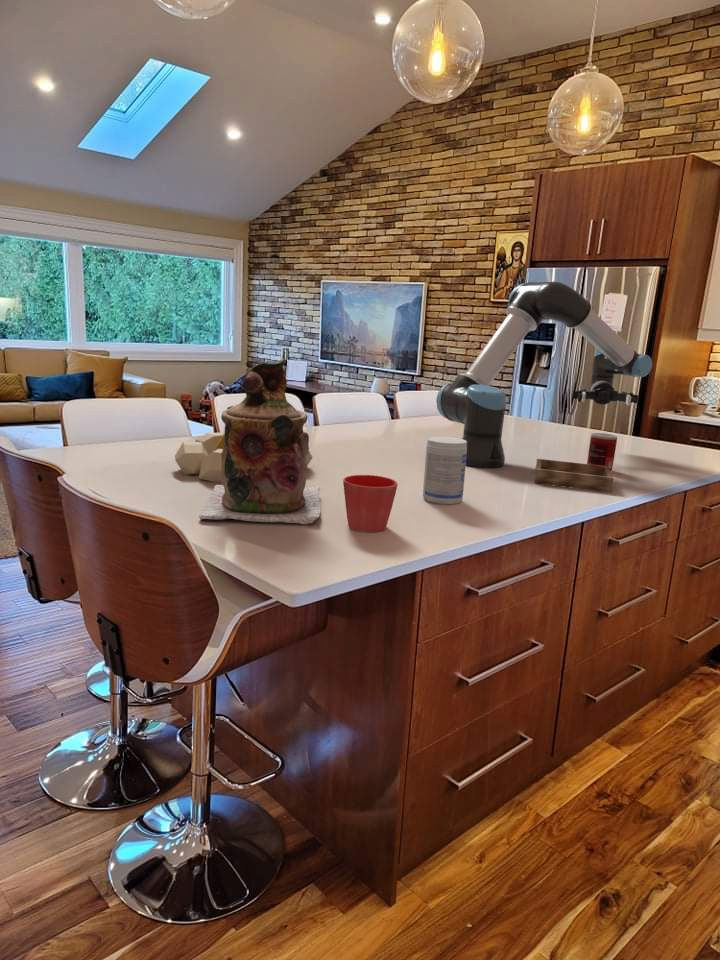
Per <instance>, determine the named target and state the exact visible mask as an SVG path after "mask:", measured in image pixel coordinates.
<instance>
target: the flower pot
mask: <svg viewBox="0 0 720 960" xmlns="http://www.w3.org/2000/svg"><path fill="white" fill-rule="evenodd" d="M342 483H343V484H342V485H343V492H344V493H343V494H344V501H345V511H346V518H347V526H348V527H349V528H350V529H352V530H355V531H358V532H363V533H377V532H378V533H380V532H382V531H384V530H386V529H387V525H388V523H389V519H390V516H391V512H392V509H393V505H394V501H395V497H396V492H397V489H398V485H399V484H398V482H397V480H395V479H392V478H390V477H386V476H382V475H381V476H380V475H375V474H374V475H373V474H354V475H353V474H352V475H349V476H345V477H344V478H343V479H342Z"/></svg>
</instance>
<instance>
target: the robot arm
mask: <svg viewBox="0 0 720 960" xmlns="http://www.w3.org/2000/svg"><path fill="white" fill-rule="evenodd" d="M507 299H508V303H507V308H506V310H505V311H506V313H505V314H506V317H505V319H504V320H503V321H502V323H501V324H500V325H499V327H498V328H497V330H496V331H495V332H494V334H493V335H492V337H491V338H490V339H489V341H487V343H486V345H485V346H484V347H483V349H482V350H481V352H480V353H479V354H478V356H477V357H476V358H475V359H474V361H473V362H472V364H471V365H470V367H469V368H468V369H467V371H466V372H465V373H459V374H458V375H457V376H456V378H455V379H454V380H453V382H452V383H451V382H450V383H447V384H445V385H443V386H442V387H440V389H439V391H438V393H437V395H436V399H435V400H436V401H435V402H436V409H437V411H438V412H439V414H440V415H441V416H442V417H443V418H444V419H447V420H448V421H451V422H455V423H457V424H458V423H459V424H462V425H463V433H462V434H463V435H462V438H461V439H463V440H466V441H467V456H466V466H469V467H475V468H476V467H477V468H485V469H488V468H489V469H491V468H501V467H504V466H505V461H506V457H505V453H504V452H505V451H504V447H503V441H502V436H503V427H504V420H505V413H506V405H507V403H506V399H507V398H506V397H507V395H506V392H505V391H504V390H502V389H501V388H498V387H496V386H490V385H491V384H492V383H493V381H494V380H495V378H496V377H497V375H498V374H499V373H500V372H501V370H502V369H503V367H504V366H505V365H506V363H507V362H508V360H509V359H510V358H511V356H512V355H513V354H514V352H515V351H516V350H517V348H518V347H519V345H520V344H521V343H522V341H523V339H524V338H526V336H527V334H528V333H529V332H534V331H535V330H536V329H537V328H538V327H539V325H541V323H542V321H543V320H549V321H550V320H551V321H557V322H560V323H562V324H564V326H566V327H567V328H569V329H574V330H575V331H577V332H578V333H579V334H580V335H581V336H582V337H583V338H584V339H585V340H587V341H588V342H589V343H590V344H591V345H593V347H595V350H594V355H593V363H592V370H591V371H592V372H591V377H590V378H591V379H590V385H589V388H588V389H586V388H583V389H580V390H579V389H577V390H572V395H571V397H572V400H576V399H577V402H579V403H580V402H581V403H585V402H586V400H593V402H594V403H596V404H597V405H601V406H603V405H607V404H609V403H611V402H618V401H619V402H623V403H625V404H626V405H627V406H631V404H632V403H634V404H638V403H639V395H638V394H634V392H629V393H628V392H626V391H621V392H619V391H618V390H615V388H614V386H613V384H614V378H615V375H619V376H620V375H621V376H627V377H632V378H644V377H646V376H647V375H649V374H650V372H651V370H652V368H653V360H652V357H650V356H649V355H648V354H644V353H638V352H637V351H636V350H635V349H634V348H633V347H632V346H630V344H628V342H626V341H625V340H624V339H623V338H622V336H620V335H619V334H618V333H616V331H615V330H614V329H612V328H611V326H610V325H608V324H607V322H605V321H604V320H603V319H602V318H601V317H600V316H599V315H598V314H597V313H596V312H595V311H593V309H592V304H591V303H590V302H589V301H588V300H587V299H586V298H585V297H584V296H583V295H582V294H580V293H579V292H578V291H577V290H575V289H573V287H570V286H569V285H567V284H565V283H563V282H560V281H541V282H539V281H538V282H537V281H536V282H535V281H528V282H525V283H520V284H518V285H517V286H516V287H514V288H513V290H512V291H511V293H510V294H509V297H508V298H507Z"/></svg>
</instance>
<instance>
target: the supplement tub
mask: <svg viewBox="0 0 720 960" xmlns="http://www.w3.org/2000/svg"><path fill="white" fill-rule="evenodd" d="M466 456H467V441H466V440H463V439H462V438H458V437H450V436H431V437H428V438H427V442H426V448H425V458H424V459H425V460H424V472H423V473H424V475H423V488H422V497H423V499H424V500H425V501H427V502H429V503H433V504H438V505H455V504H456V505H457V504H459V503H461V502H462V500H463V499H464V498H463V497H464V489H465V488H464V487H465V486H464V485H465V478H466V477H465V476H466V467H467V465H466Z"/></svg>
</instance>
